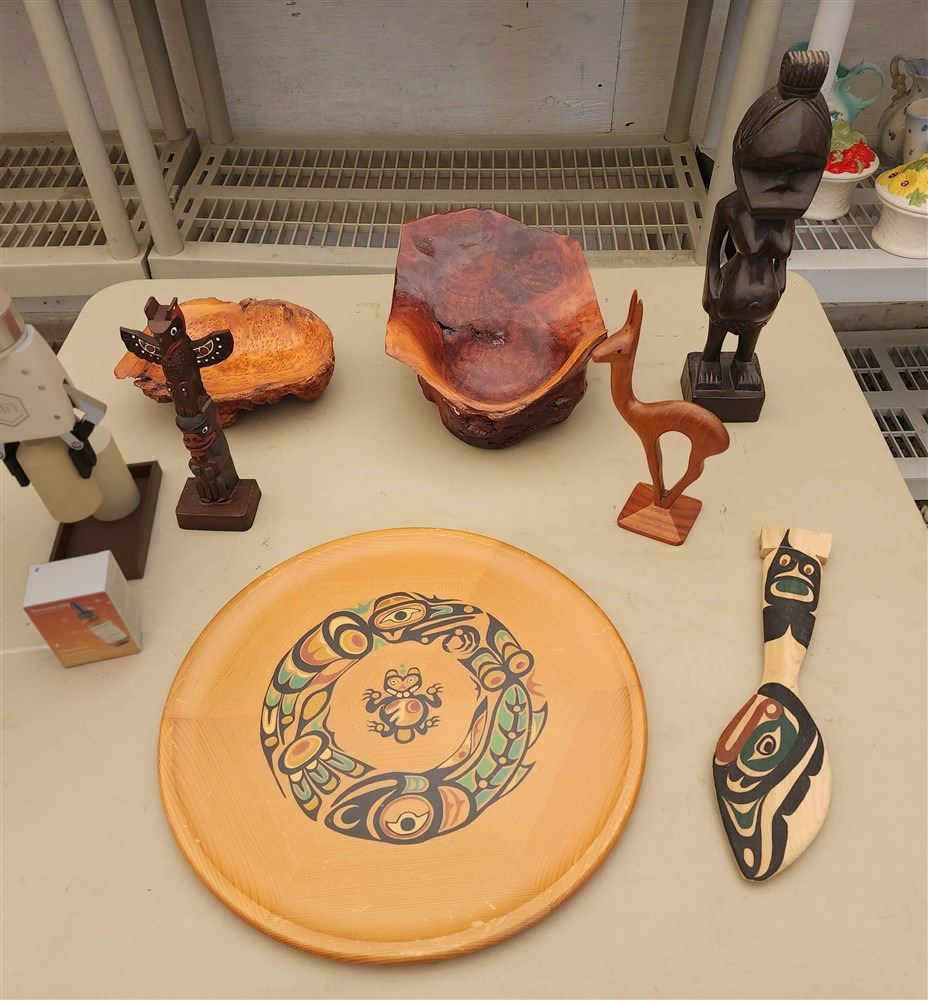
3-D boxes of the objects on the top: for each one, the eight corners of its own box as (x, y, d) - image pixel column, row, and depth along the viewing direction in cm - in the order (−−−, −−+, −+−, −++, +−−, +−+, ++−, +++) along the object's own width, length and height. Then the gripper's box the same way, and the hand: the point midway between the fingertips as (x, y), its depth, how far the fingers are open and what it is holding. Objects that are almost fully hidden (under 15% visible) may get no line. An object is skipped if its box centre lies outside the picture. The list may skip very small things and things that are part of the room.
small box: (63, 669, 89) (19, 608, 81) (69, 626, 93) (27, 564, 85) (142, 653, 90) (105, 591, 82) (145, 611, 93) (110, 548, 86)
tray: (52, 593, 96) (43, 579, 94) (82, 485, 108) (74, 470, 106) (144, 581, 96) (136, 566, 94) (164, 475, 108) (157, 460, 106)
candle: (99, 518, 91) (61, 449, 84) (46, 527, 91) (3, 458, 84) (105, 482, 95) (69, 413, 88) (55, 491, 95) (14, 422, 88)
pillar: (86, 524, 102) (51, 463, 95) (95, 488, 106) (62, 428, 99) (136, 518, 102) (106, 456, 95) (144, 482, 107) (115, 421, 99)
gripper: (-137, 366, 74) (-35, 510, 87) (65, 341, 74) (136, 488, 87) (-107, 316, 79) (-15, 459, 92) (82, 294, 80) (147, 439, 93)
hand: (58, 472), depth 90 cm, fingers closed on candle, 5 cm apart
